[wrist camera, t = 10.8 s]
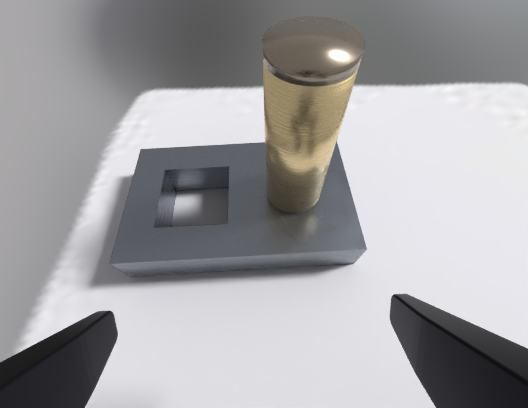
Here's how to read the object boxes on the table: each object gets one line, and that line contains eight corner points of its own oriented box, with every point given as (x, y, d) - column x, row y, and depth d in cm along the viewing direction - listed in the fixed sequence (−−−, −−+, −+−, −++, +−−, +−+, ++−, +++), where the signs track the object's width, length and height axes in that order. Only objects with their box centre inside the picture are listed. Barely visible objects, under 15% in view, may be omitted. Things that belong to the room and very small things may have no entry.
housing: (353, 263, 22) (366, 249, 20) (130, 276, 22) (109, 264, 19) (329, 161, 29) (335, 138, 26) (154, 170, 29) (140, 149, 26)
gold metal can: (324, 211, 21) (377, 66, 11) (268, 214, 21) (265, 72, 11) (315, 167, 24) (351, 14, 13) (265, 170, 24) (260, 18, 13)
